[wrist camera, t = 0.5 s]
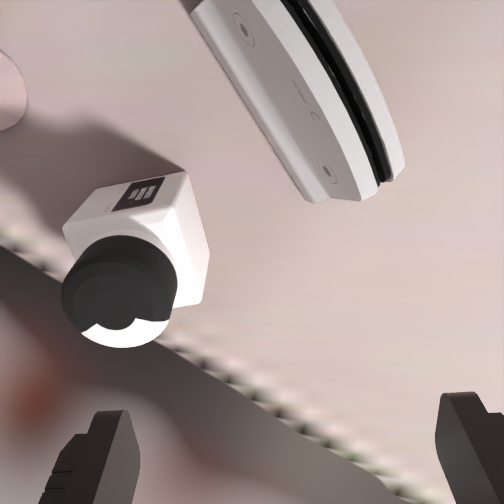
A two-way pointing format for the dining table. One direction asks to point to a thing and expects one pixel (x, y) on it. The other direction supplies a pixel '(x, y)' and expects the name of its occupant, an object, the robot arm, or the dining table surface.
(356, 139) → the card swipe reader
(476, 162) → the dining table surface
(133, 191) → the container
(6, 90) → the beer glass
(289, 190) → the dining table surface
